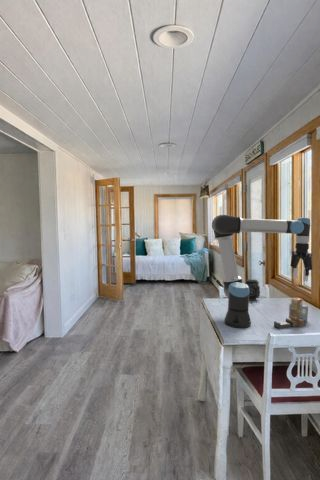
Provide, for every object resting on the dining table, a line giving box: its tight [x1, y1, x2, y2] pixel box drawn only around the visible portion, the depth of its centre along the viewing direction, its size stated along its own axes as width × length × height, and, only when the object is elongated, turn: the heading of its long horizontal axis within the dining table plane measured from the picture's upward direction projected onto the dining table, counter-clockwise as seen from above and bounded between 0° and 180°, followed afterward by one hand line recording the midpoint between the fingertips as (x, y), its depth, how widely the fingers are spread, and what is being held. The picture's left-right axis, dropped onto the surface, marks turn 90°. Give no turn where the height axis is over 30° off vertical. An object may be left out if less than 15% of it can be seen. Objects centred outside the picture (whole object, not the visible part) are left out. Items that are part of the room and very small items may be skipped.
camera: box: [245, 279, 261, 301], centre depth 241 cm, size 10×10×15 cm
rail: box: [273, 318, 307, 330], centre depth 182 cm, size 20×4×3 cm, turn 111°
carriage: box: [285, 297, 305, 328], centre depth 183 cm, size 8×6×15 cm
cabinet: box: [288, 303, 309, 322], centre depth 194 cm, size 8×8×9 cm
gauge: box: [296, 297, 304, 306], centre depth 194 cm, size 4×4×6 cm
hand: (300, 279), depth 193 cm, fingers open, 8 cm apart
